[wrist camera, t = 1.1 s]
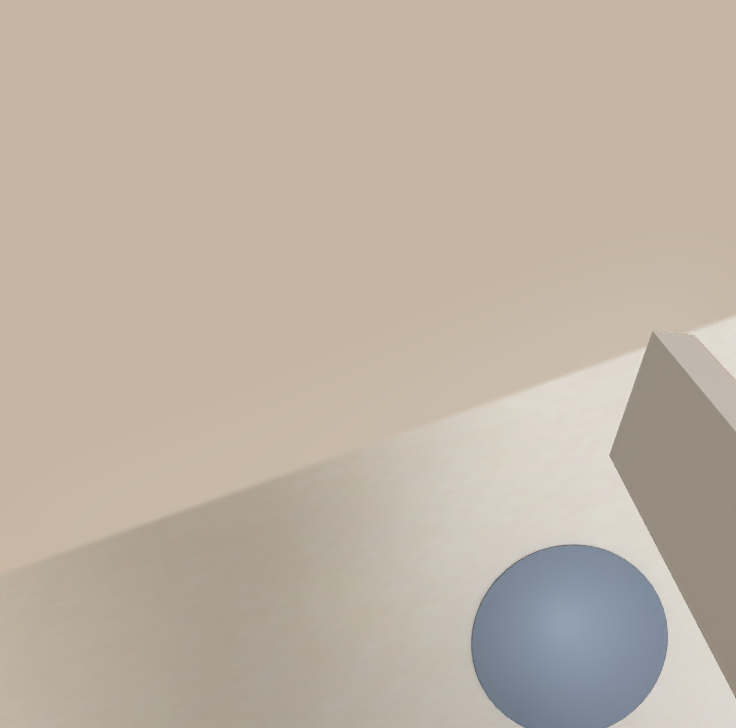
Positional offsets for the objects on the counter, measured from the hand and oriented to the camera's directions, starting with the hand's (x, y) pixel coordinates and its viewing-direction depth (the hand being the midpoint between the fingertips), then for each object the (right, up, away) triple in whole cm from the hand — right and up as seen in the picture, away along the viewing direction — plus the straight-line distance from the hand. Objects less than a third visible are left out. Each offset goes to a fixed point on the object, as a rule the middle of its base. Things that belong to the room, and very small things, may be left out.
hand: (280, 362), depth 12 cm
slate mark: (+15, -18, +33) cm, 41 cm away
